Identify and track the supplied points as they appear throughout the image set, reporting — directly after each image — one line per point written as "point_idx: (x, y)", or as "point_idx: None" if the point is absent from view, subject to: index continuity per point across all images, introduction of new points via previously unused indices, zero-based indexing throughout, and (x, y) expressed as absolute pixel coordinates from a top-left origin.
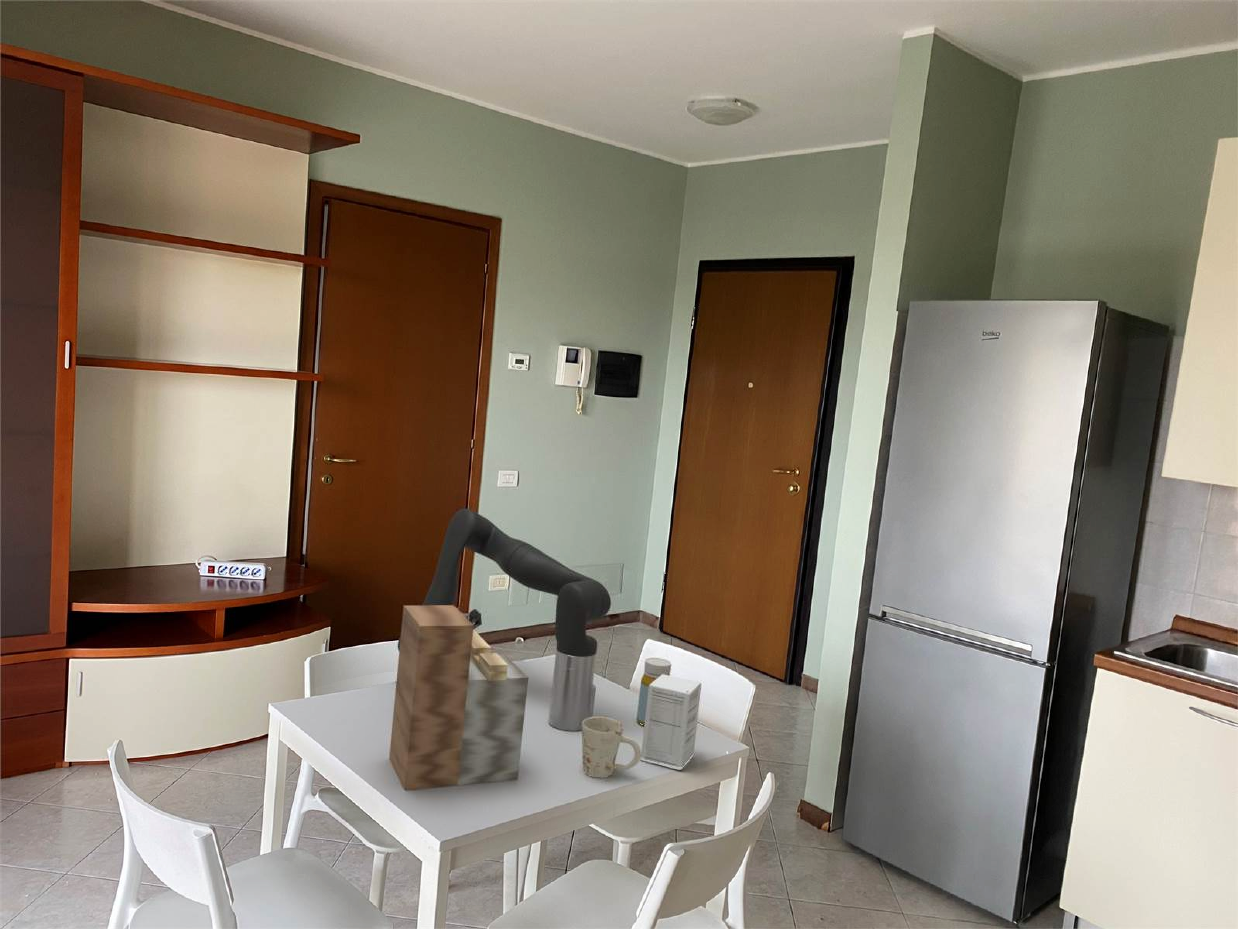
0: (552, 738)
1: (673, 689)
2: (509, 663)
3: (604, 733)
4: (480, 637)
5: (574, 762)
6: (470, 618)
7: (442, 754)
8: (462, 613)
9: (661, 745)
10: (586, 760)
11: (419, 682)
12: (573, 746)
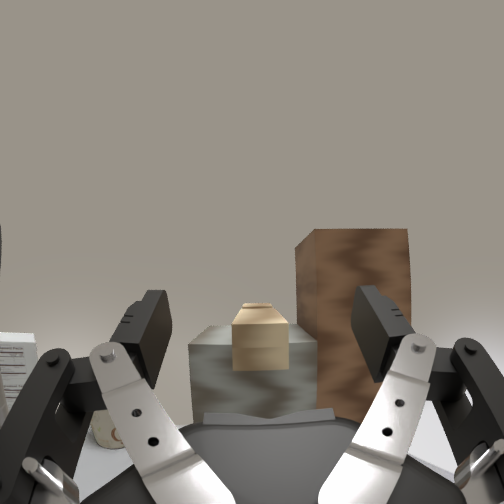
0: (80, 501)
1: (31, 336)
2: (207, 334)
3: None
4: (238, 314)
5: (117, 458)
6: (154, 359)
7: None
8: (146, 383)
9: None
10: None
11: None
12: (78, 477)
